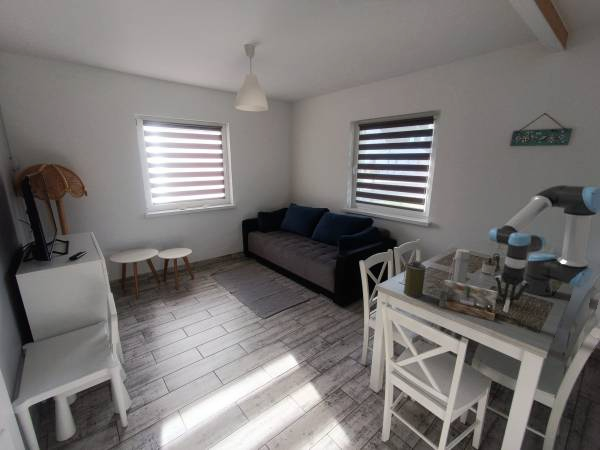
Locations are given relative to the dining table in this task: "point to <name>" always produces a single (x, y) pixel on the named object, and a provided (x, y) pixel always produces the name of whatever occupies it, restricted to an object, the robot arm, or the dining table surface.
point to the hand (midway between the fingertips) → (505, 310)
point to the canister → (414, 279)
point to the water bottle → (460, 266)
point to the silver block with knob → (470, 302)
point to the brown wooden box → (454, 291)
